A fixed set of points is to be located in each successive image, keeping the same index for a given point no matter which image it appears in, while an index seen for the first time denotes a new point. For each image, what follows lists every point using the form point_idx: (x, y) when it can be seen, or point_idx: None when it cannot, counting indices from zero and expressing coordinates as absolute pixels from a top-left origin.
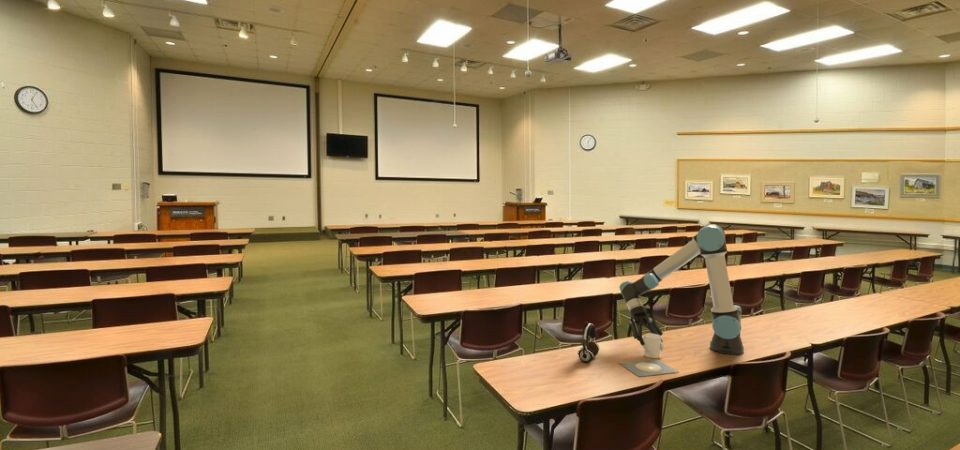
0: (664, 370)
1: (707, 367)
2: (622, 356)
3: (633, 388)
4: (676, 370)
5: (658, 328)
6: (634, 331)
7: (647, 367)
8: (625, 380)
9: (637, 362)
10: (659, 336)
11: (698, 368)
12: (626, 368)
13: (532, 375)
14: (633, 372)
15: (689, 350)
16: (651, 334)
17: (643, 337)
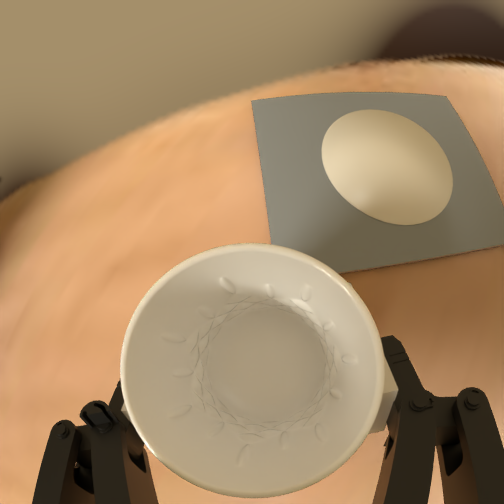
0: (318, 114)
1: (87, 157)
2: (476, 362)
3: (460, 59)
4: (254, 110)
5: (49, 493)
6: (499, 462)
7: (397, 154)
8: (485, 97)
9: (433, 232)
10: (134, 363)
11: (127, 144)
12: (488, 178)
13: None
14: (465, 127)
15: (15, 375)
16: (201, 472)
17: (386, 390)
